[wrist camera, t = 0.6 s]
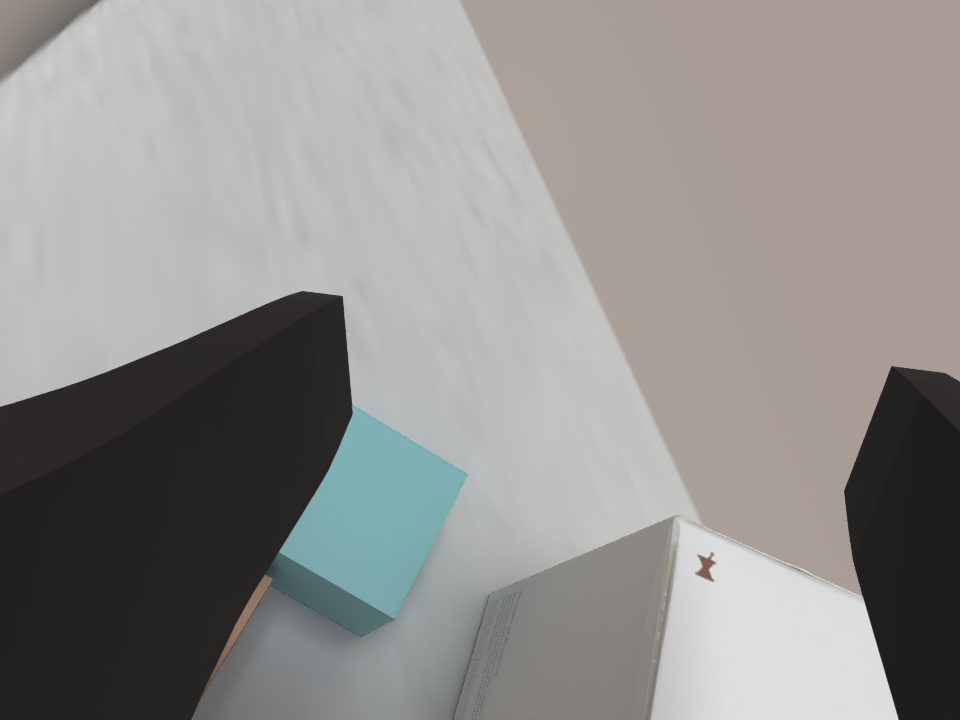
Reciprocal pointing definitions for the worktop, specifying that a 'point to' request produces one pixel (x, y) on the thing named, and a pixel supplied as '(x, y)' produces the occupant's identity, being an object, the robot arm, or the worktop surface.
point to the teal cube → (367, 527)
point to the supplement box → (675, 638)
